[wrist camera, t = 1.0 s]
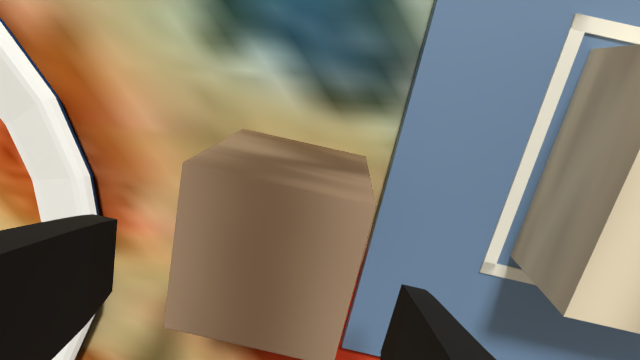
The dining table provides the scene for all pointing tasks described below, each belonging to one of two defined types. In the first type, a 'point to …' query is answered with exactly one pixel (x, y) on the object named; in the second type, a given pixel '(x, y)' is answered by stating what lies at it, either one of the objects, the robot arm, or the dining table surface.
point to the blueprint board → (485, 175)
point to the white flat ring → (44, 146)
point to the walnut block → (269, 244)
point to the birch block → (591, 199)
